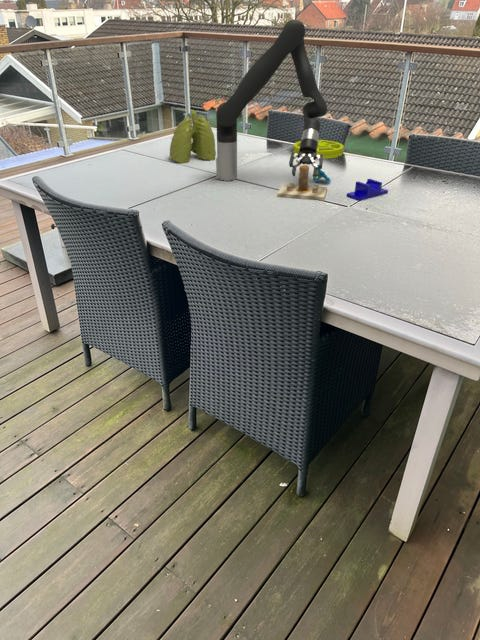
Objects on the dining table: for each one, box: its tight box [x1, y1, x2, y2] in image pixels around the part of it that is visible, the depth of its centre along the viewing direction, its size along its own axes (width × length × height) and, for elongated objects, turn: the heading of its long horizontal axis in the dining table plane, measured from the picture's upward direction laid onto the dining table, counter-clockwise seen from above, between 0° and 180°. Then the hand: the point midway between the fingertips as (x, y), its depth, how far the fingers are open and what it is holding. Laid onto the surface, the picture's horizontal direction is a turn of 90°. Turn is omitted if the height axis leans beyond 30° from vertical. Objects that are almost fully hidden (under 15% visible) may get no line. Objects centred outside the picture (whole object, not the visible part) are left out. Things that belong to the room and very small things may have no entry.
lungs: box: [169, 109, 217, 164], centre depth 258 cm, size 25×16×24 cm, turn 111°
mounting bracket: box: [346, 178, 389, 202], centre depth 211 cm, size 18×7×6 cm, turn 125°
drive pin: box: [297, 164, 310, 191], centre depth 211 cm, size 4×4×10 cm
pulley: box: [292, 139, 345, 160], centre depth 276 cm, size 28×28×5 cm
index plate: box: [276, 182, 328, 201], centre depth 213 cm, size 20×14×4 cm
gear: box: [312, 169, 332, 184], centre depth 227 cm, size 11×6×10 cm
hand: (303, 176), depth 210 cm, fingers open, 8 cm apart
